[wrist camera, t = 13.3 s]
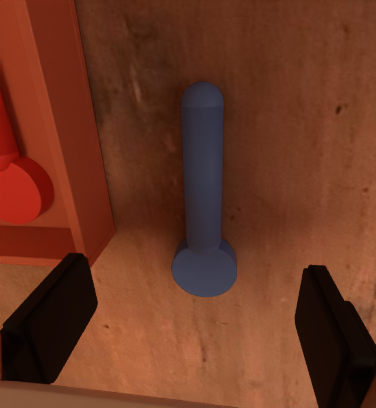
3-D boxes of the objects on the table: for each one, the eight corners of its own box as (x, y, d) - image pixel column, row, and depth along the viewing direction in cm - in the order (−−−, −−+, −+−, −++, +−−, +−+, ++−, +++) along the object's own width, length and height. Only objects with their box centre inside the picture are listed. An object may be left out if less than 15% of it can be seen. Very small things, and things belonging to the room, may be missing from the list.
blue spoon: (162, 82, 14) (152, 83, 12) (245, 79, 14) (249, 79, 12) (176, 281, 20) (170, 303, 18) (235, 285, 20) (235, 308, 18)
